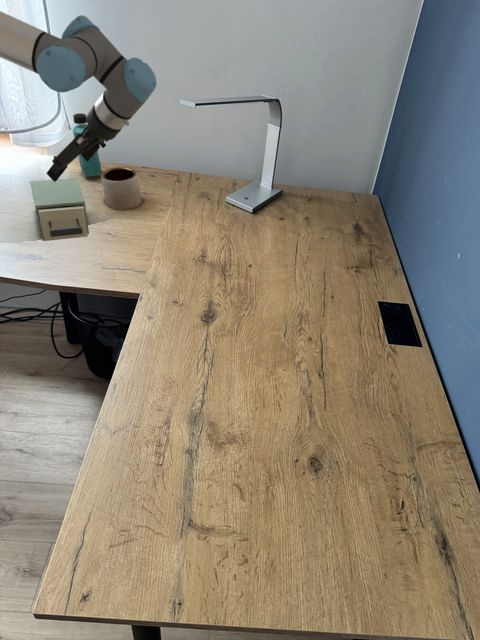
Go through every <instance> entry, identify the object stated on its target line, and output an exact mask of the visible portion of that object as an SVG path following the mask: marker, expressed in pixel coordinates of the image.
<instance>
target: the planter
mask: <svg viewBox="0 0 480 640" xmlns="http://www.w3.org/2000/svg"><path fill="white" fill-rule="evenodd" d="M100 178H101V182H102V183H101V184H102V187H103V195H104V200H105V204H106V206H107V207H109V208H111V209H113V210H130V209H133V208H135V207H138V206H139V205H140V204H141V203H142V195H141V188H140V184H139V183H140V182H139V176H138V171H136V169H134V168H131V167H127V166H117V167H112V168H108V169H106V170H104V171H103V172H101V173H100Z"/></svg>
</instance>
